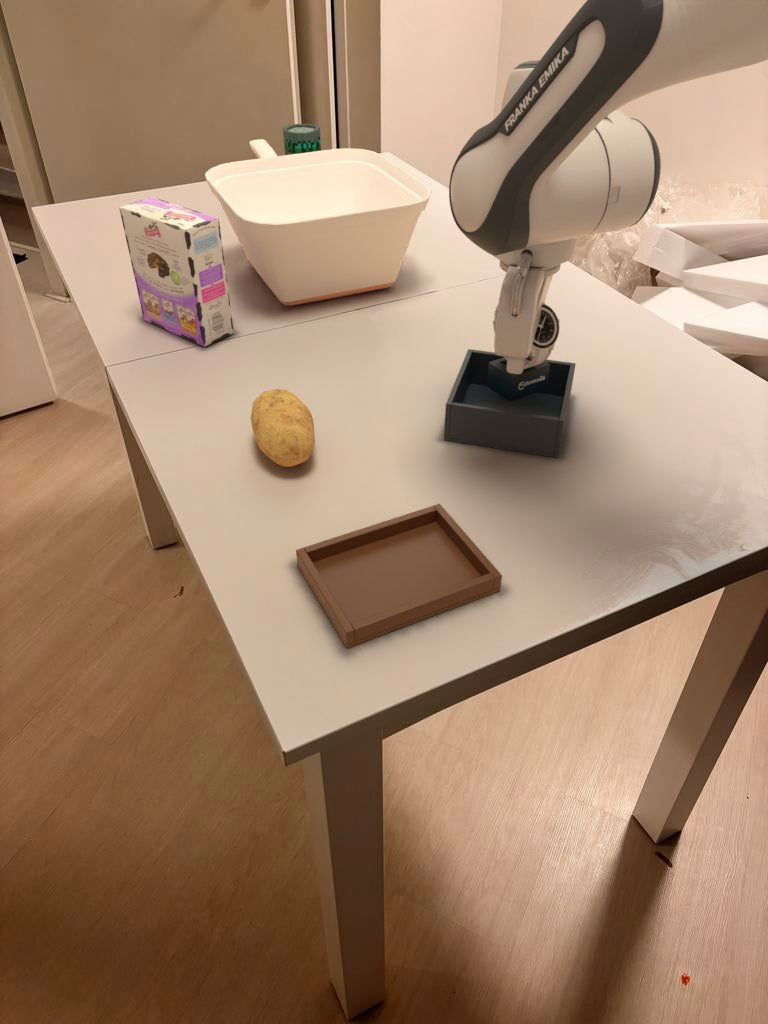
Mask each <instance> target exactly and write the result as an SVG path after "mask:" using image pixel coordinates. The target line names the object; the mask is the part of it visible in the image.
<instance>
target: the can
mask: <svg viewBox="0 0 768 1024" xmlns="http://www.w3.org/2000/svg"><path fill="white" fill-rule="evenodd" d="M282 132H283V133H282V134H283V135H282V136H283V146H284V147H283V149H284V155H292V154H300V153H307V152H315V151H322V148H321V147H322V145H321V127H320V126H317V125H316V124H312V123H295V124H289V125H285V126H284V127H283V128H282Z"/></svg>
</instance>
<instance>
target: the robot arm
mask: <svg viewBox="0 0 768 1024" xmlns="http://www.w3.org/2000/svg"><path fill="white" fill-rule="evenodd" d="M766 61H768V0H586V1H585V2H584V3H583V4H582V6H581V7H580V8H579V9H578V10H577V12H576V13H575V14H574V15H573V17H572V18H571V19H570V20H569V22H568V23H567V24H566V26H565V27H564V28H563V29H562V31H561V32H560V33H559V35H558V36H557V37H556V39H555V40H554V41H553V42H552V43H551V45H550V47H549V48H548V50H546V52H545V53H544V55H542V57H541V58H540V59H538V60H528V61H524V62H521V63H519V64H518V65H517V66H516V67H514V68H513V69H511V71H510V73H509V76H508V79H507V81H506V85H505V89H504V93H503V98H502V103H501V108H500V112H499V113H498V115H497V116H496V117H495V118H494V119H493V120H492V121H490V122H489V123H487V124H485V125H483V126H482V127H480V128H478V129H477V130H476V131H475V132H474V133H473V134H472V135H471V136H470V137H469V138H468V140H467V142H466V143H465V144H464V145H463V147H462V148H461V150H460V152H459V154H458V156H457V157H456V159H455V162H454V164H453V166H452V169H451V172H450V178H449V184H448V198H449V207H450V211H451V215H452V218H453V221H454V223H455V225H456V226H457V228H458V229H459V230H460V231H461V233H462V234H463V235H464V236H465V237H466V238H467V239H468V240H469V241H470V242H471V243H473V244H474V245H476V246H477V247H478V248H480V249H481V250H483V251H484V252H485V253H488V254H489V255H490V256H493V257H494V258H495V259H497V260H499V268H500V269H501V270H502V271H503V272H505V275H504V278H503V280H502V284H501V286H500V287H501V288H500V292H499V297H498V303H497V305H498V312H497V320H496V330H495V333H494V341H493V350H494V353H495V354H496V355H498V356H503V357H507V369H506V370H507V372H509V373H513V374H521V373H522V372H523V369H524V364H525V358H527V357H528V356H529V354H530V351H531V347H532V344H533V340H534V337H535V334H536V330H537V327H538V323H539V320H540V317H541V311H542V304H543V302H544V303H545V302H546V299H547V295H548V292H549V289H550V285H551V282H552V280H553V276H554V275H555V274H557V273H559V271H560V270H561V265H562V264H565V263H566V262H569V261H571V259H572V258H573V257H574V256H575V252H576V245H577V239H580V238H584V237H588V236H595V235H600V234H606V233H611V232H612V233H613V232H616V231H620V230H623V229H626V228H631V227H633V226H635V225H637V224H638V223H639V222H640V221H641V220H642V219H643V218H644V216H645V215H646V214H647V212H649V210H650V208H651V206H652V204H653V202H654V200H655V198H656V195H657V191H658V189H659V184H660V179H661V171H662V170H661V168H662V167H661V166H662V162H661V154H660V148H659V145H658V142H657V140H656V138H655V137H654V135H653V134H652V132H651V130H650V129H649V128H648V127H647V126H646V125H645V124H644V123H643V122H642V121H641V120H639V119H637V118H633V117H629V116H628V115H627V114H626V113H624V112H623V111H622V110H621V109H620V108H621V107H623V106H625V105H627V104H629V103H631V102H633V101H634V100H637V99H639V98H642V97H644V96H646V95H649V94H652V93H654V92H657V91H661V90H663V89H666V88H669V87H672V86H675V85H680V84H681V83H686V82H690V81H693V80H696V79H700V78H705V77H709V76H712V75H717V74H721V73H725V72H729V71H733V70H737V69H742V68H745V67H746V68H747V67H749V66H750V67H751V66H753V65H757V64H759V63H763V62H766ZM545 304H546V303H545Z"/></svg>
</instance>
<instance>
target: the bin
mask: <svg viewBox="0 0 768 1024" xmlns="http://www.w3.org/2000/svg"><path fill="white" fill-rule="evenodd" d="M501 358H504V357H503V356H498V355H496V354H495V351H494V352H493V351H486V350H480V349H479V350H478V349H471V348H469V349H467V351H466V354H465V356H464V359H463V360H462V364H461V366H460V368H459V370H458V373H457V376H456V378H455V380H454V384H453V386H452V388H451V390H450V392H449V395H448V397H447V400H446V403H445V412H444V429H443V441H448V442H456V443H460V444H468V445H474V446H481V447H488V448H494V449H499V450H500V449H501V450H507V451H513V452H519V453H525V454H531V455H539V456H545V457H551V458H557V459H559V457H560V451H561V447H562V443H563V442H562V441H563V435H564V430H565V426H566V420H567V415H568V410H569V405H570V398H571V394H572V388H573V382H574V375H575V370H576V365H577V363H575V362H570V361H561V360H554V359H548V358H547V359H546V360H545V361H546V362H547V363H549V364H550V370H549V378H548V386H547V389H544V390H541V391H539V392H536V393H533V394H531V395H528V396H525V397H522V398H520V399H517V400H514V401H512V402H511V401H509V400H507V399H506V398H504V397H503V396H501V395H499V394H498V393H496V392H495V391H493V390H491V389H490V388H488V387H487V378H488V364H489V362H492V361H495V360H498V359H501Z"/></svg>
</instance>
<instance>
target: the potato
mask: <svg viewBox="0 0 768 1024" xmlns="http://www.w3.org/2000/svg"><path fill="white" fill-rule="evenodd" d="M250 421H251V422H250V423H251V428H252V433H253V436H254V439H255V442H256V444H257V446H258V448H259V450H260V451H261V452H262V453H263V454H264V455H265V456H266V457H268V458H269V459H270V460H271V461H272V462H274V463H275V464H276V465H278V466H281V467H283V468H285V467H286V468H289V467H290V468H291V467H294V466H297V465H300V464H302V463H304V462H306V461H307V460H308V459H309V458H310V457H311V456H312V453H313V451H314V449H315V443H316V436H315V423H314V418H313V416H312V413H311V411H310V409H309V408H308V406H307V405H306V404H305V403H304V402H303V401H302V400H301V399H300V398H299V397H298V395H296V394H294V393H293V392H291V391H290V390H288V389H280V388H275V389H271V390H265V391H263V392H261V393H260V394H259V395H258V396H256V398H255V399H254V401H253V402H252V407H251V415H250Z"/></svg>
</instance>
